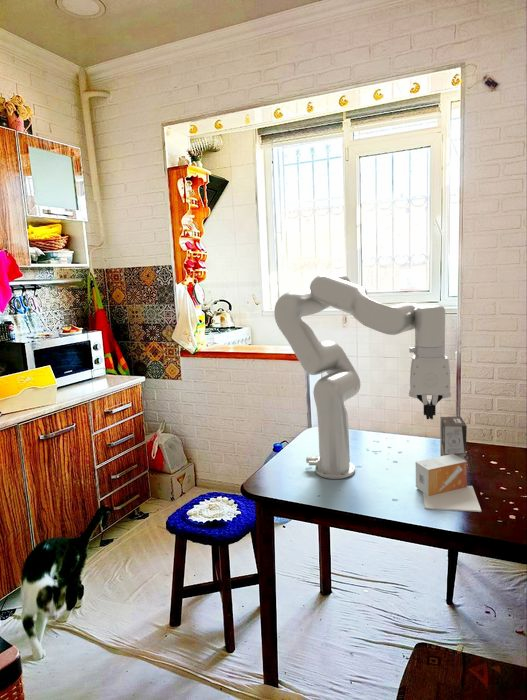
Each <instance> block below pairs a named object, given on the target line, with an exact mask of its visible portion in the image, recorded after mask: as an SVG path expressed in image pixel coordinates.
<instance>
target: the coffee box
mask: <svg viewBox="0 0 527 700" xmlns="http://www.w3.org/2000/svg"><path fill="white" fill-rule="evenodd" d="M439 420H440V421H439V423H440V426H439V427H440V429H439V430H440V431H439V433H440V441H439V445H440V448H439V449H440V451H439V452H440V456H445V455H449V454H454V455H456V456H458V457H460V458H462V459H463V460H465V461H467V432H468V431H467V428H468V426H467V424H466V422H465V421H464V419H463V418H462V416H440V419H439Z"/></svg>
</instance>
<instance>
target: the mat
mask: <svg viewBox="0 0 527 700" xmlns="http://www.w3.org/2000/svg"><path fill="white" fill-rule="evenodd" d="M422 495H423V496H422V497H423V503H424V504H423V505H424V508H425V510H439V511H458V512H459V511H460V512H471V513H472V512H474V513H475V512H476V513H477V512H478V513H482V509H481V506H480V503H479V500H478V498H477V495H476V492H475V489H474V487H473V485H467V487H465V488H461V489H456V490H452V491H448V492H444V493H439V494H435V495H431V496H428V495H426V494H425V493H423V492H422Z"/></svg>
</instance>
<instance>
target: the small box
mask: <svg viewBox="0 0 527 700" xmlns="http://www.w3.org/2000/svg"><path fill="white" fill-rule="evenodd" d="M467 486H468V461H467V460H466V461H465V460H463V459H462V458H460V457H458V456H456V455H454V454H449V455H445V456H441V455H440V456H435V457H431V458H427V459H422V460H418V461H415V488H416V489H418V490H419V491H421V492H422V494H423V493H425V494H426V495H428V496H431V495H435V494H439V493H444V492H448V491H452V490H456V489H461V488H465V487H467Z"/></svg>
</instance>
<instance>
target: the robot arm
mask: <svg viewBox="0 0 527 700" xmlns="http://www.w3.org/2000/svg"><path fill="white" fill-rule="evenodd" d="M329 307H331V308H334V309H336V310H340V311H342V312H344V313H347V314H349V315H352V316H353V318H354V319H355V320H356V321H357V322H359V323H360V324H361V325H362V326H365V327H367V328H369V329H371V330H374V331H377V332H379V333H382V334H385V335H388V336H389V335H391V336H395V335H399V334H402V333H405V332H408V331H411V330H414V346H413V347H408V348H409V350H408V351H409V353H412V354H414V355H413V356H412V358H411V361H410V370H409V390H408V391H409V392H408V395H409V396H408V397H410V398H414V399H417V400H419V401H420V402H421V403H422V404H423V416H425V417H426V420H429V419H430V420H434V416H436V412H437V411H436V405H437V404H438V403H439V402H440V401H441V400H443V399H448V398H450V397H451V396H452V395H451V370H450V361H449V358H448V357H449V356H447V355H446V309H445V307H444V306H443V305H440V304H418V303H412V302H404V303H398V304H395V305H387V304H384V303H382V302H378V301H376V300H373V299H371V298H369V296H368V291H367V290H366V288H365V287H364V286H361V285H359V284H355V283H353V282H351V280H350V278H349V277H348V276H347V275H345V274H344V273H342V272H341V273H340V272H332V273H330V272H329V273H322V274H319V275H317V276H316V277H314V278H313V279H312V281H311V283H310V285H309V288H304V289H296V290H292V291H288V292H286V293H284V294H282V295H281V296H279V297H278V299H277V301H276V302H275V305H274V313H273V315H274V319H275V323H276V325H277V327H278V329H279V331H280V332H281V333H282V335H283V336H284V338H285V339H286V340H287V342H288V344H289V345H290V348H291V350H292V351H293V353H294V354H295V356H296V358H297V360H298V362H299V363H300V365H301V367H302V368H303V370H304V371H305V372H306V373H307V374H308V375H310V376H316V375H321V374H323V373H327V374H326V375H324V376H322V377H320V378H319V379H318V380H317V381H316V383H315V384H314V387H313V391H312V392H313V393H312V394H313V398H314V402H315V406H316V407H315V408H316V413H317V415H316V416H317V427H318V428H317V431H318V452H319V455H317V456H316V457H315V456H306V457H305V458H306V459H305V461H306V464H308V466H315V468H314V469H315V470H314V471H315V473H316V475H318V476H320V477H322V478H323V479H324V478H325V479H329V480H341V479H346V478H348V477H351V476H353V475H354V474H355V473H356V466H355V465H354V464H353V463H352V462H351V459H350V457H351V456H350V434H349V433H350V432H349V431H350V430H349V427H350V426H349V415H348V411H347V408H346V407H345V402H346V401H348V400H349V399H351V398H353V397H354V396H356V395H357V394H358V393H359V391H360V389H361V379H360V377H359V374H358V372H357V370H356V369H355V367H354V366H353V365H352V362H351V360H350V359H349V358H348V356H347V353H345V351H344V350H343V348H342V347H341V346H340V345H339V344H338V343H337V342H335V341H332V340H323V341H320V340H319V339H318V337H317V336H316V334H315V333H314V331H313V330H314V329H312V328H311V327H310V325H308V324H307V322H305V321H304V320H303V319H302V317H307V316H311V315H315V314H318V313H320V312H321V311H324V310H326V309H328V308H329ZM428 396H431V400H430V401H429V400H428Z"/></svg>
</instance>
